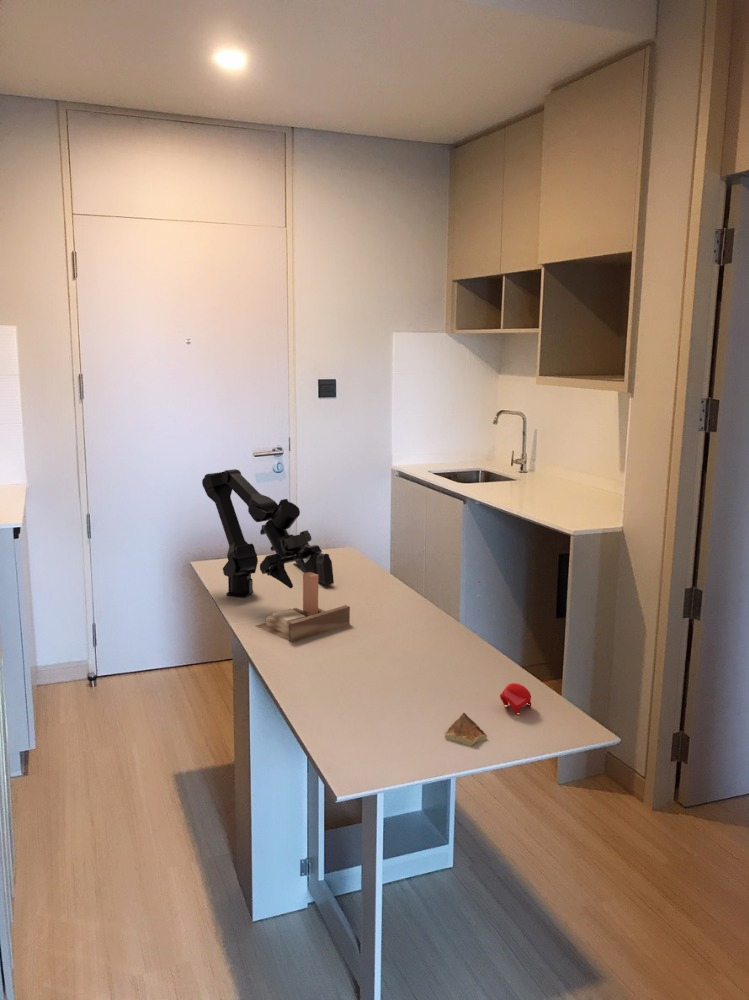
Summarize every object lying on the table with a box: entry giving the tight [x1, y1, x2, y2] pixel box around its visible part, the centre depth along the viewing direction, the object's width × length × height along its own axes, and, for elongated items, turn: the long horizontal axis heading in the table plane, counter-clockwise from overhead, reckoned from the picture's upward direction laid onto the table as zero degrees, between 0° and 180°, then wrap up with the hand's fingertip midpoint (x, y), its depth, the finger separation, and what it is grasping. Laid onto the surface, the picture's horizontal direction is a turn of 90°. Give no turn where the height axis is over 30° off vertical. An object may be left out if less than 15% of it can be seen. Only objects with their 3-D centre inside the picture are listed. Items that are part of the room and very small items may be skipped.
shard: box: [444, 712, 488, 747], centre depth 163 cm, size 11×8×2 cm
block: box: [302, 572, 319, 615], centre depth 221 cm, size 4×2×13 cm
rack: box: [255, 604, 351, 643], centre depth 217 cm, size 16×20×6 cm
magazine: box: [294, 544, 335, 586], centre depth 265 cm, size 17×3×30 cm
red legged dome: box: [499, 682, 532, 714], centre depth 172 cm, size 8×6×6 cm
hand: (304, 584), depth 222 cm, fingers open, 9 cm apart
